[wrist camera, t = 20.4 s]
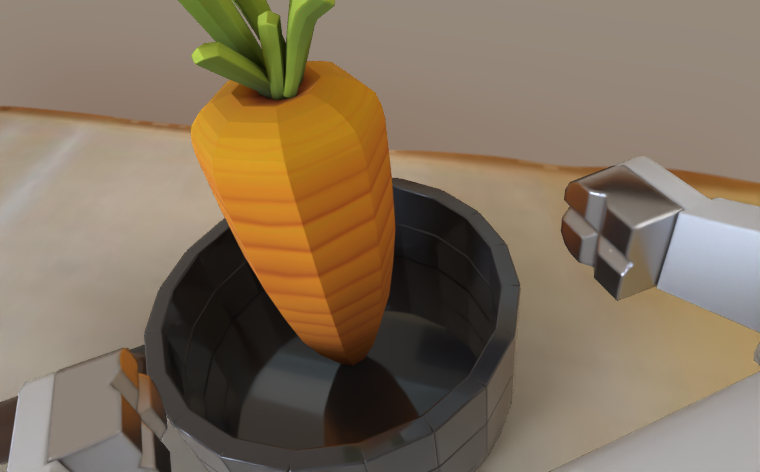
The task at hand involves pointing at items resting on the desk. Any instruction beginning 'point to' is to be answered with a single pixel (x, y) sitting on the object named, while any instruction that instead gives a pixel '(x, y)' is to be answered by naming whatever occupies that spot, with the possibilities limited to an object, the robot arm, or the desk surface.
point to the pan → (340, 381)
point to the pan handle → (4, 412)
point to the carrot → (298, 172)
